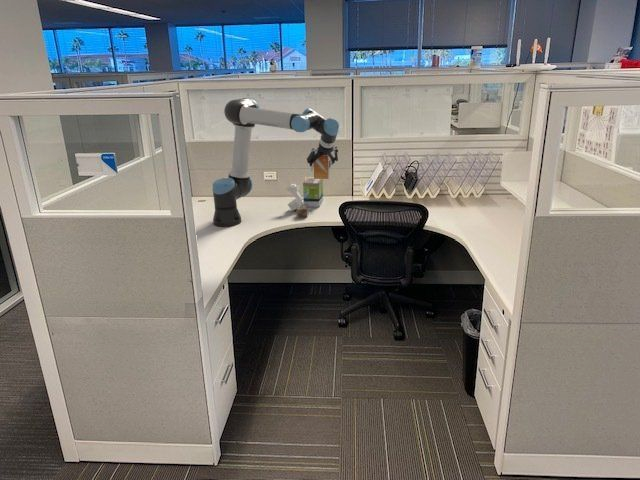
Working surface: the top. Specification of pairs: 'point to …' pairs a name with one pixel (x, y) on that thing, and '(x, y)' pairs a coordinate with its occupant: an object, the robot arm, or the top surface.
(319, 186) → the tea box
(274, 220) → the top surface
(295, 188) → the voxel character
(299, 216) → the walnut block
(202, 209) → the top surface
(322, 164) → the small box
